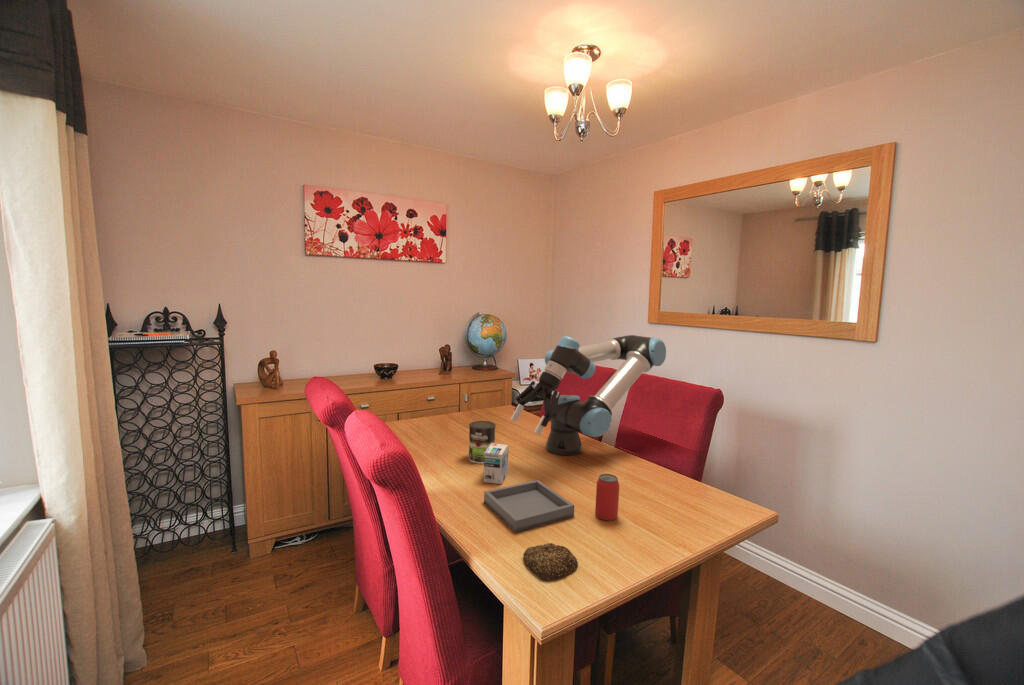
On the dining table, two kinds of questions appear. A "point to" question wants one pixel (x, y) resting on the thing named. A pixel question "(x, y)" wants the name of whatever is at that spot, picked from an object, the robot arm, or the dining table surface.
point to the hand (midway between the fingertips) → (524, 427)
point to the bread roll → (550, 561)
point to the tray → (528, 505)
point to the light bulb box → (496, 463)
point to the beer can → (607, 497)
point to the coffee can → (480, 439)
